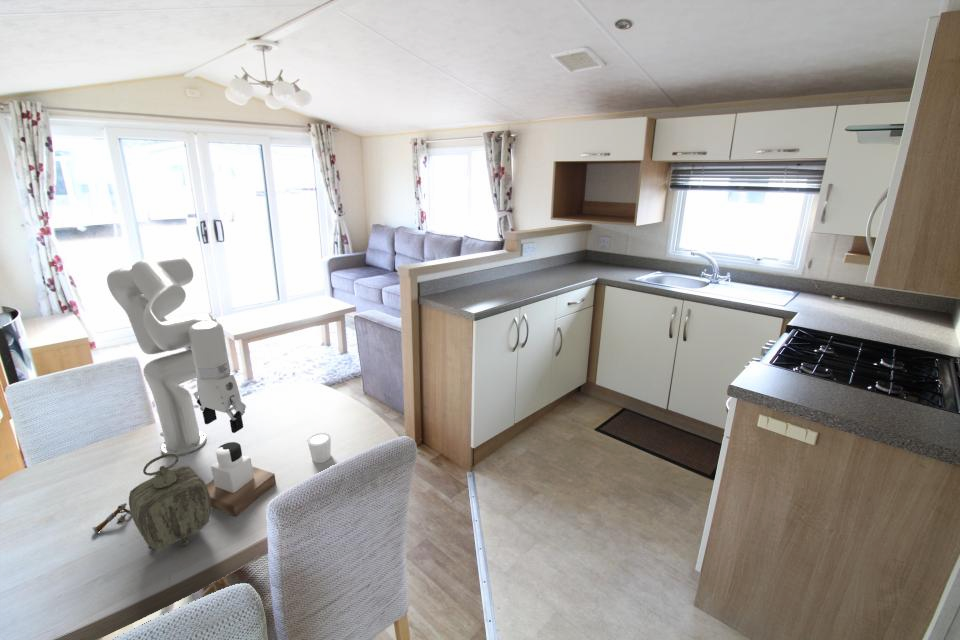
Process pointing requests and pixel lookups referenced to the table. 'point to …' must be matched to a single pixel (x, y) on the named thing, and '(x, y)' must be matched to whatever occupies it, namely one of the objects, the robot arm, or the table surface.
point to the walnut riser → (241, 493)
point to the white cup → (320, 447)
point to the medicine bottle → (231, 468)
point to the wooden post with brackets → (108, 519)
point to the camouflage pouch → (169, 505)
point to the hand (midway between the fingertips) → (224, 425)
